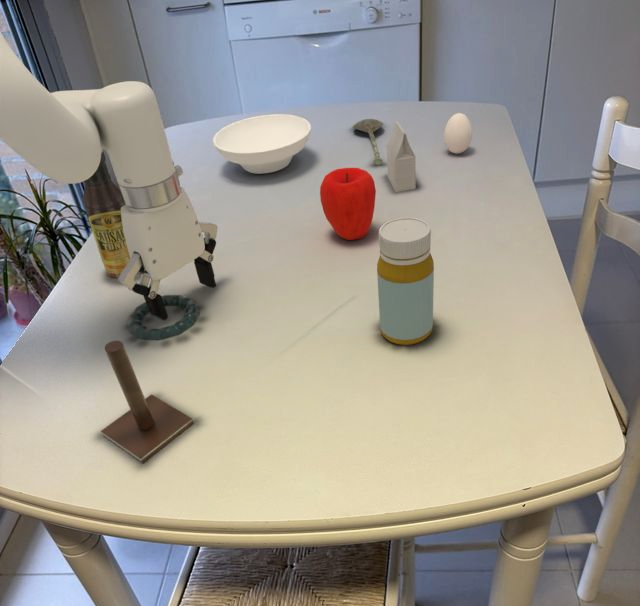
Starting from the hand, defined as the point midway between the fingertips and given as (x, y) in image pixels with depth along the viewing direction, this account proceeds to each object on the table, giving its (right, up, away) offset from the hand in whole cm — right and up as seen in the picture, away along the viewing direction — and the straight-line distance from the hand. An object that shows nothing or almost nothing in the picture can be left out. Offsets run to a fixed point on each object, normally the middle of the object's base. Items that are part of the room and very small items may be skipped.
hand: (184, 300), depth 96 cm
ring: (-3, -3, -2) cm, 4 cm away
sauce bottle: (-12, +6, +11) cm, 17 cm away
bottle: (+32, -6, -9) cm, 34 cm away
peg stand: (-1, -19, -17) cm, 26 cm away
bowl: (+9, +34, +36) cm, 50 cm away
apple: (+25, +13, +12) cm, 31 cm away
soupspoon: (+31, +39, +38) cm, 63 cm away
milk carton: (+35, +26, +24) cm, 50 cm away
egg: (+47, +35, +31) cm, 66 cm away
